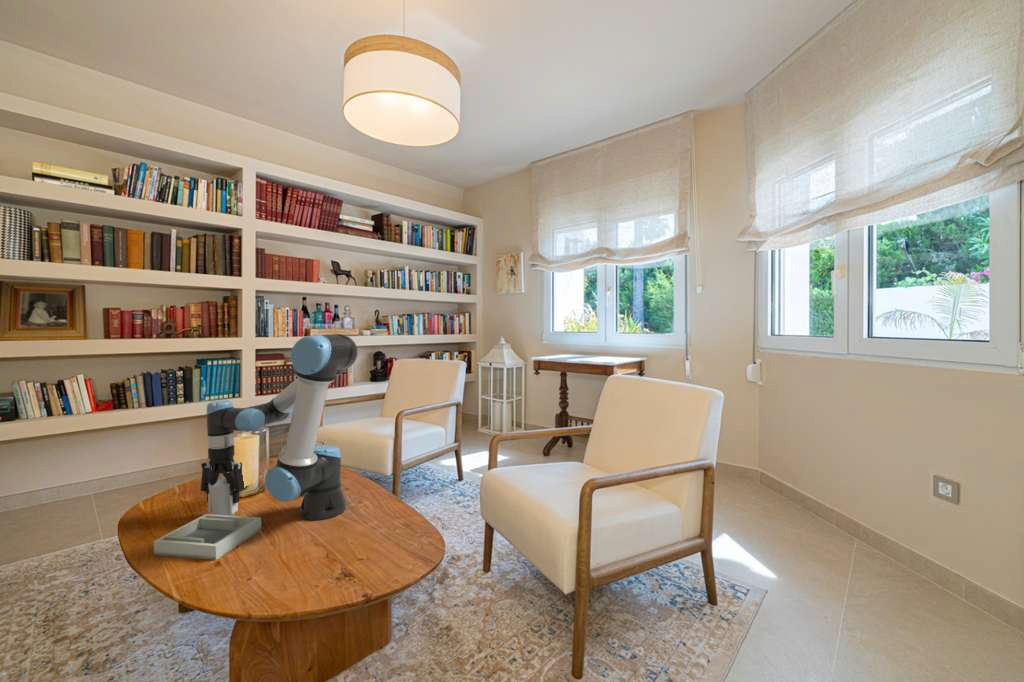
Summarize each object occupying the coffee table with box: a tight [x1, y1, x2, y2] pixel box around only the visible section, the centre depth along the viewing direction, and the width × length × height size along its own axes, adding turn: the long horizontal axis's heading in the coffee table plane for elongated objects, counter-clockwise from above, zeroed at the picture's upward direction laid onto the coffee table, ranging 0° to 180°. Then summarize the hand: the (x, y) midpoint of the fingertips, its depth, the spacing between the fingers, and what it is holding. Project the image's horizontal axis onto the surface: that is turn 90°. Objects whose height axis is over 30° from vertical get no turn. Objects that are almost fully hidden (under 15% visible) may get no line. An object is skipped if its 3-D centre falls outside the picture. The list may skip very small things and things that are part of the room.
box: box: [153, 513, 262, 561], centre depth 133 cm, size 20×18×4 cm
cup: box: [208, 477, 235, 516], centre depth 150 cm, size 8×8×12 cm
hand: (223, 511), depth 150 cm, fingers closed on cup, 7 cm apart
